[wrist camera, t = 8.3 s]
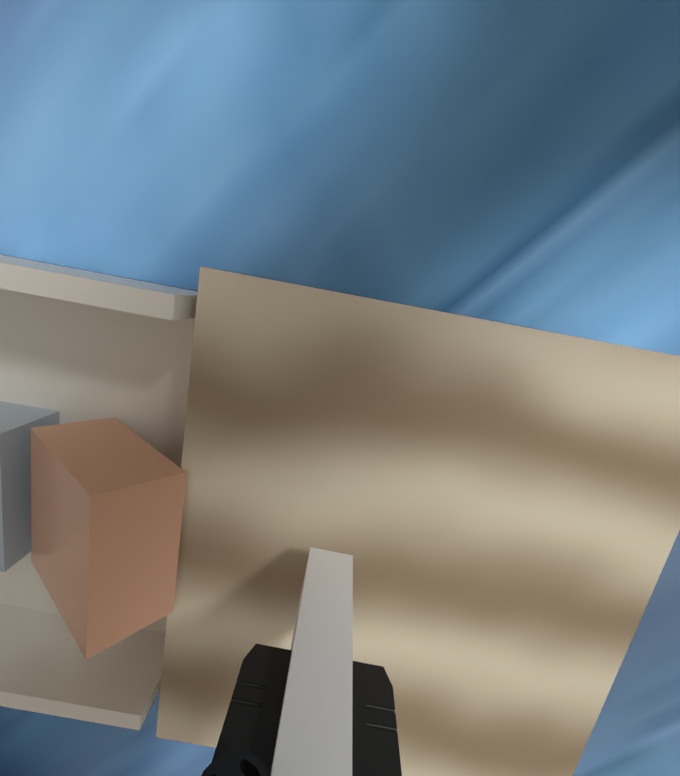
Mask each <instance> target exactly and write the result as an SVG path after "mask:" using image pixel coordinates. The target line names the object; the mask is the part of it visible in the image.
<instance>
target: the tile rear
mask: <svg viewBox="0 0 680 776" xmlns="http://www.w3.org/2000/svg"><path fill="white" fill-rule="evenodd" d="M57 424H60V411H56V410H50V409H44V408H38V407H32V406H27V405H21V404H15V403H9V402H3V401H0V571H1V572H5V571H7V570H8V569H9V568H11V567H12V566H13V565H14V564H16V563H17V562H18V561H19V560H21V559H22V558H23V557H25V556H26V555H27V554H28V553H30V552H31V428H32V427H41V426H49V425H57Z"/></svg>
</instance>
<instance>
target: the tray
mask: <svg viewBox="0 0 680 776" xmlns="http://www.w3.org/2000/svg"><path fill="white" fill-rule="evenodd" d="M197 293H198V291H193V290H187V289H182V288H177V287H171V286H166V285H161V284H155V283H150V282H144V281H139V280H134V279H128V278H123V277H118V276H112V275H107V274H102V273H96V272H91V271H86V270H80V269H75V268H70V267H64V266H59V265H54V264H48V263H43V262H37V261H32V260H27V259H21V258H16V257H11V256H5V255H0V401H3V402H9V403H15V404H21V405H27V406H32V407H38V408H44V409H50V410H56V411H60V424H65V423H74V422H82V421H90V420H98V419H107V418H116V419H117V420H119V421H120V422H121V423H123V424H124V425H125V426H126V427H128V428H129V429H130V430H132V431H133V432H134V433H136V434H137V435H138V436H139V437H141V438H142V439H143V440H145V441H146V442H147V443H149V444H150V445H151V446H153V447H154V448H155V449H156V450H158V451H159V452H160V453H162V454H163V455H164V456H166V457H167V458H168V459H170V460H171V461H172V462H173V463H175V464H176V465H177V466H179V467H180V468H181V463H182V453H183V442H184V431H185V421H186V410H187V399H188V389H189V378H190V367H191V357H192V346H193V335H194V325H195V314H196V303H197ZM166 623H167V615H166V616H164V617H163V618H161V619H159V620H157V621H155V622H154V623H152V624H150V625H148V626H146V627H144V628H143V629H141V630H139V631H137V632H135V633H133V634H132V635H130V636H128V637H126V638H124V639H122V640H121V641H119V642H117V643H115V644H113V645H112V646H110V647H108V648H106V649H104V650H102V651H101V652H99V653H97V654H95V655H93V656H91V657H90V658H88V659H86V660H85V658H84V656H83V654H82V652H81V650H80V649H79V647H78V645H77V643H76V641H75V640H74V638H73V636H72V634H71V632H70V630H69V629H68V627H67V625H66V623H65V621H64V619H63V618H62V616H61V614H60V612H59V610H58V609H57V607H56V605H55V603H54V601H53V599H52V598H51V596H50V594H49V592H48V590H47V588H46V587H45V585H44V583H43V581H42V579H41V578H40V576H39V574H38V572H37V570H36V568H35V567H34V565H33V563H32V560H31V552H30V553H28V554H27V555H26V556H25V557H23V558H22V559H21V560H19V561H18V562H17V563H16V564H14V565H13V566H12V567H11V568H9V569H8V570H7V571H5V572H1V571H0V706H3V707H8V708H14V709H20V710H26V711H31V712H37V713H43V714H48V715H54V716H60V717H65V718H71V719H77V720H83V721H88V722H94V723H100V724H105V725H111V726H117V727H122V728H128V729H134V730H140V729H141V727H142V725H143V723H144V721H145V719H146V717H147V715H148V713H149V711H150V709H151V707H152V705H153V703H154V701H155V698H156V696H157V694H158V692H159V690H160V687H161V676H162V666H163V655H164V644H165V634H166Z"/></svg>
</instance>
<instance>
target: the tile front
mask: <svg viewBox="0 0 680 776" xmlns="http://www.w3.org/2000/svg"><path fill="white" fill-rule="evenodd" d="M185 479H186V472H185V471H184V470H183V469H181V468H180V467H179V466H177V465H176V464H175V463H173V462H172V461H171V460H170V459H168V458H167V457H166V456H164V455H163V454H162V453H160V452H159V451H158V450H156V449H155V448H154V447H153V446H151V445H150V444H149V443H147V442H146V441H145V440H143V439H142V438H141V437H139V436H138V435H137V434H136V433H134V432H133V431H132V430H130V429H129V428H128V427H126V426H125V425H124V424H123V423H121V422H120V421H119V420H117V419H116V418H107V419H98V420H90V421H82V422H74V423H65V424H57V425H49V426H41V427H32V428H31V560H32V563H33V565H34V567H35V568H36V570H37V572H38V574H39V576H40V578H41V579H42V581H43V583H44V585H45V587H46V588H47V590H48V592H49V594H50V596H51V598H52V599H53V601H54V603H55V605H56V607H57V609H58V610H59V612H60V614H61V616H62V618H63V619H64V621H65V623H66V625H67V627H68V629H69V630H70V632H71V634H72V636H73V638H74V640H75V641H76V643H77V645H78V647H79V649H80V650H81V652H82V654H83V656H84V658H85V660H86V659H88V658H90V657H91V656H93V655H95V654H97V653H99V652H101V651H102V650H104V649H106V648H108V647H110V646H112V645H113V644H115V643H117V642H119V641H121V640H122V639H124V638H126V637H128V636H130V635H132V634H133V633H135V632H137V631H139V630H141V629H143V628H144V627H146V626H148V625H150V624H152V623H154V622H155V621H157V620H159V619H161V618H163V617H164V616H166V615H168V614H170V613H172V612H173V607H174V596H175V585H176V575H177V564H178V554H179V543H180V532H181V522H182V511H183V501H184V490H185Z"/></svg>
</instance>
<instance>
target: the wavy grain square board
mask: <svg viewBox="0 0 680 776" xmlns="http://www.w3.org/2000/svg"><path fill="white" fill-rule="evenodd" d="M181 469H183V470H184V471H185V472H186V479H185V490H184V501H183V511H182V522H181V532H180V543H179V554H178V564H177V575H176V585H175V596H174V607H173V612H172V613H170V614H168V615H167V623H166V634H165V644H164V655H163V666H162V676H161V687H160V697H159V708H158V719H157V729H156V737H157V738H163V739H168V740H174V741H180V742H186V743H191V744H197V745H203V746H208V747H214V748H216V747H217V743H218V740H219V737H220V734H221V730H222V727H223V724H224V721H225V717H226V714H227V711H228V707H229V704H230V702H231V698H232V694H233V691H234V688H235V684H236V682H237V678H238V675H239V671H240V668H241V665H242V662H243V659H244V658H245V656H246V655H247V654H248V653H249V652H250V650H251V649H252V648H253V647H254V645H255V644H262V645H267V646H272V647H277V648H282V649H288V650H290V649H291V643H292V638H293V632H294V627H295V621H296V615H297V610H298V605H299V600H300V595H301V591H302V586H303V581H304V576H305V571H306V566H307V561H308V557H309V552H310V547H312V548H317V549H323V550H328V551H333V552H338V553H343V554H348V555H353V661H357V662H362V663H367V664H372V665H377V666H383V667H384V669H385V671H386V673H387V675H388V677H389V680H390V682H391V684H392V686H393V693H394V703H395V713H396V723H397V733H398V742H399V752H400V762H401V772H402V776H573V773H574V771H575V769H576V767H577V764H578V762H579V760H580V757H581V755H582V753H583V750H584V748H585V746H586V744H587V741H588V739H589V737H590V734H591V732H592V730H593V728H594V725H595V723H596V721H597V718H598V716H599V714H600V711H601V709H602V707H603V705H604V702H605V700H606V698H607V695H608V693H609V691H610V688H611V686H612V684H613V682H614V679H615V677H616V675H617V672H618V670H619V668H620V666H621V663H622V661H623V659H624V656H625V654H626V652H627V649H628V647H629V645H630V643H631V640H632V638H633V636H634V633H635V631H636V629H637V626H638V624H639V622H640V620H641V617H642V615H643V613H644V610H645V608H646V606H647V604H648V601H649V599H650V597H651V594H652V592H653V590H654V587H655V585H656V583H657V581H658V578H659V576H660V574H661V571H662V569H663V567H664V564H665V562H666V560H667V558H668V555H669V553H670V551H671V548H672V546H673V544H674V542H675V539H676V537H677V535H678V532H679V530H680V356H676V355H670V354H665V353H660V352H654V351H649V350H644V349H638V348H633V347H628V346H622V345H617V344H612V343H606V342H601V341H596V340H590V339H585V338H580V337H574V336H569V335H564V334H558V333H553V332H548V331H542V330H537V329H532V328H526V327H521V326H516V325H510V324H505V323H500V322H494V321H489V320H484V319H478V318H473V317H468V316H462V315H457V314H452V313H446V312H441V311H436V310H430V309H425V308H420V307H414V306H409V305H404V304H398V303H393V302H388V301H382V300H377V299H372V298H366V297H361V296H356V295H350V294H345V293H340V292H334V291H329V290H324V289H318V288H313V287H308V286H302V285H297V284H292V283H286V282H281V281H276V280H270V279H265V278H260V277H254V276H249V275H244V274H238V273H233V272H228V271H222V270H217V269H212V268H206V267H201V266H200V271H199V282H198V293H197V303H196V314H195V325H194V335H193V346H192V357H191V367H190V378H189V389H188V399H187V410H186V421H185V431H184V442H183V453H182V463H181Z"/></svg>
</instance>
